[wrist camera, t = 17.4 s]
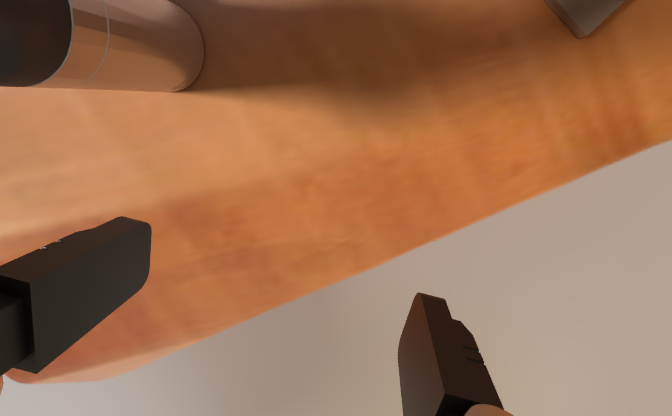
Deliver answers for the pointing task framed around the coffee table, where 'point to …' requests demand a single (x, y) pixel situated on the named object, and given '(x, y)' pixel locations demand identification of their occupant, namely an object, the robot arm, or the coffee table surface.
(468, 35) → the coffee table surface
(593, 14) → the collar board
